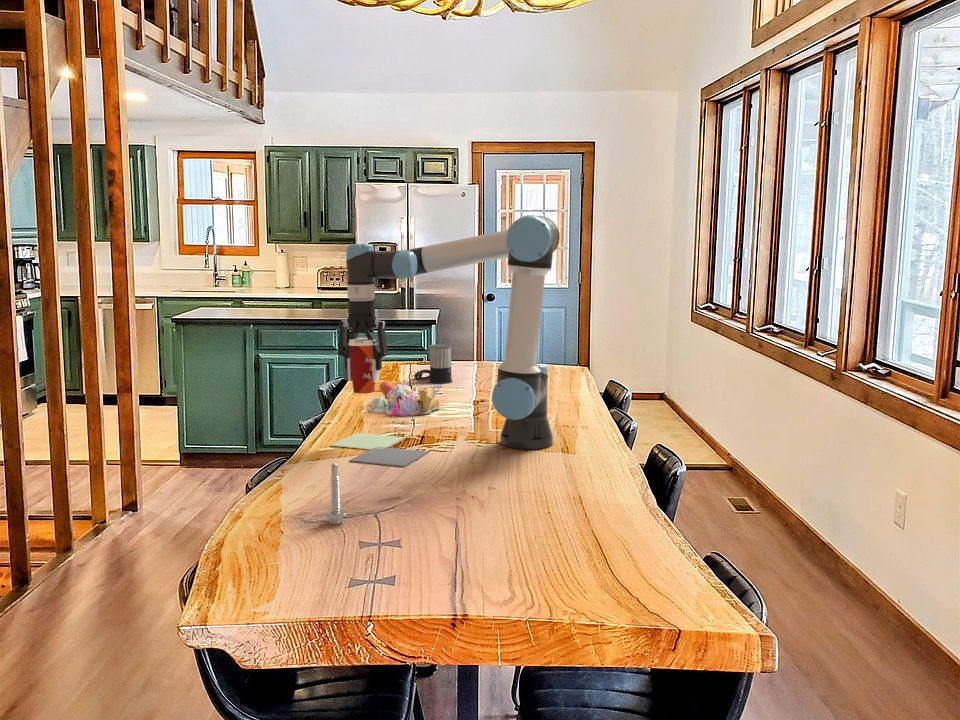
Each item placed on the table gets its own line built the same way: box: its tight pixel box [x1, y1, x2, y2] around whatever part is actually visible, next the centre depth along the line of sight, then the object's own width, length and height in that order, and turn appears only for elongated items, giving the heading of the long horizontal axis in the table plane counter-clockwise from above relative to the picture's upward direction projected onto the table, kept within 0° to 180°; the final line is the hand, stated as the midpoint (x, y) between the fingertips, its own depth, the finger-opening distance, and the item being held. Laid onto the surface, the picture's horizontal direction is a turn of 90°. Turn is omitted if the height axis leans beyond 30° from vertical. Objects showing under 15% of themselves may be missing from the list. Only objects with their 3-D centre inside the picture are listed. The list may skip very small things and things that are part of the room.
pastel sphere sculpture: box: [367, 380, 441, 417], centre depth 306 cm, size 25×24×9 cm
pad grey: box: [348, 447, 430, 468], centre depth 243 cm, size 16×16×1 cm
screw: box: [323, 462, 348, 526], centre depth 189 cm, size 13×5×5 cm
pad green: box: [329, 432, 406, 451], centre depth 260 cm, size 16×16×1 cm
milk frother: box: [413, 343, 453, 384], centre depth 362 cm, size 14×16×15 cm
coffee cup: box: [347, 337, 378, 395], centre depth 254 cm, size 8×8×15 cm
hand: (363, 380), depth 254 cm, fingers closed on coffee cup, 7 cm apart
